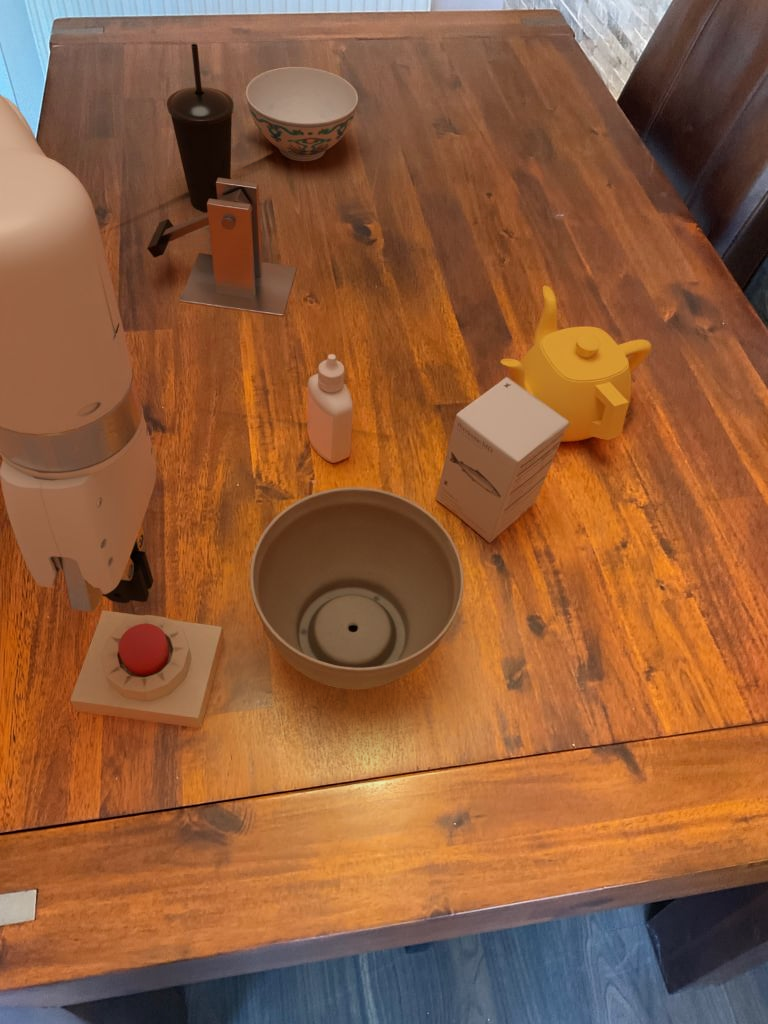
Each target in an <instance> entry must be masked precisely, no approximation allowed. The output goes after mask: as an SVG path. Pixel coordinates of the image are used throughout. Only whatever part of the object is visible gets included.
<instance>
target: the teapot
mask: <svg viewBox="0 0 768 1024" xmlns="http://www.w3.org/2000/svg"><path fill="white" fill-rule="evenodd" d="M542 299H543V308H542V312H541V315H540V318H539V320H538V323H537V326H536V328H535V331H534V334H533V338H532V347H531V348H530V349H529V350H528V351H527V352H526V353H525V354H524V355H523V356H522V357H521V359H520V360H518V359H514V358H503V359H501V360H500V364H501V365H502V366H504V367H506V368H508V369H509V370H510V374H509V376H508V378H509V379H511V380H512V381H513V382H515V383H516V384H518V385H519V386H520V387H522V388H523V389H524V390H526V391H527V392H529V393H530V394H532V395H533V396H535V397H536V398H537V399H539V400H540V401H541V402H543V403H544V404H545V405H547V406H548V407H550V408H551V409H552V410H554V411H555V412H557V413H558V414H560V415H561V416H562V417H564V418H565V419H567V420H568V421H569V425H568V427H567V429H566V431H565V433H564V435H563V437H562V440H561V442H560V443H562V442H563V443H564V442H566V443H567V442H578V441H583V440H587V439H591V438H597V439H601V440H604V441H610V440H613V439H617V438H620V437H622V433H623V429H624V425H625V421H626V416H627V412H628V410H629V407H630V403H631V398H632V389H633V387H632V373H633V372H634V371H636V369H638V368H639V366H641V365H642V364H643V363H644V361H645V360H646V359H647V358H648V356H649V355H650V353H651V351H652V344H651V342H650V341H649V340H647V339H643V338H642V339H641V338H640V339H639V338H638V339H634V340H633V339H632V340H630V341H626V342H622V343H620V344H618V343H617V342H616V341H615V340H614V338H612V337H611V335H610V334H609V333H607V332H606V331H605V330H604V329H602V328H600V327H595V326H588V325H587V326H586V325H585V326H583V325H582V326H572V327H566V328H563V329H559V327H558V306H557V305H558V304H557V299H556V295H555V293H554V291H553V289H552V288H551V287H550V286H548V285H543V287H542ZM627 356H628V357H627Z"/></svg>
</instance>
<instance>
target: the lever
mask: <svg viewBox="0 0 768 1024" xmlns="http://www.w3.org/2000/svg"><path fill="white" fill-rule="evenodd" d="M219 200H224V201H231V202H238V203H245V204H250V202H249V201H248V199H247V198H246V196H245V195H244V193H243V192H242V190H241V189H239V190H237V191H235V192H232V193H230V194H227V195H225V196H223V197H220V198H219ZM252 208H253V207H252V205H251V211H252ZM207 227H209V220H208V212H207V213H206V212H204V213H202V214H200V215H198V216H195V217H193V218H190V219H188V220H185V221H183V222H179V224H176V225H174V224H173V223H172V221H171V220H170V219H169V218H167V219H164V220H162V221H160V222H159V223H158V225H157V227H156V229H155V230H154V233H153V236H152V238H151V240H150V241H149V244H148V246H147V248H146V249H147V250H148V252H149V253H150V254H151V255H152V257H153V258H158V257H160V256H163V255H164V254H165V252H166V249H167V247H168V245H169V243H170V242H173V241H174V240H177V239H180V238H182V237H184V236H187V235H189V234H192V233H194V232H197V231H199V230H202V229H204V228H207Z"/></svg>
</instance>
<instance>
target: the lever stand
mask: <svg viewBox="0 0 768 1024" xmlns="http://www.w3.org/2000/svg"><path fill="white" fill-rule="evenodd" d="M259 187H260V186H259V182H254V181H247V180H238V179H225V178H218V179H217V181H216V189H217V199H218V200H216V199H209V200H208V202H207V210H208V220H209V226H208V229H209V237H210V239H209V240H210V247H211V254H209V253H202V252H198V253H197V256H196V259H195V261H194V264H193V266H192V268H191V270H190V273H189V276H188V278H187V280H186V283H185V286H184V288H183V290H182V293H181V295H180V297H179V300H178V302H179V303H182V304H183V303H184V304H189V305H190V304H191V305H197V306H205V307H210V308H211V307H212V308H219V309H225V310H233V311H239V312H240V311H241V312H247V313H253V314H254V313H255V314H260V315H261V314H262V315H268V316H275V317H284V316H285V313H286V309H287V305H288V303H289V299H290V295H291V291H292V289H293V284H294V281H295V277H296V274H297V270H298V267H297V265H296V266H294V265H289V264H281V263H273V262H266V261H263V256H262V233H261V229H262V228H261V211H260V190H259ZM239 189H241V190H242V192H243V193H244V195H245V196H246V198H247V199H248V201H249V202H250V204H245V203H238V202H231V201H224V200H219V198H220V197H223V196H225V195H227V194H230V193H232V192H235V191H237V190H239ZM251 205H252V207H253V208H252V211H251Z"/></svg>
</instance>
